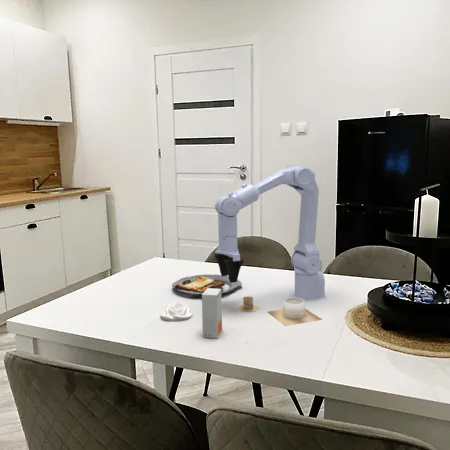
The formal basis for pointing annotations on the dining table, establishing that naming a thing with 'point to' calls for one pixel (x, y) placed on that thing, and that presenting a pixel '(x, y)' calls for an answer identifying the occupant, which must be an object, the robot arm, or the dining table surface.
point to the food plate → (204, 284)
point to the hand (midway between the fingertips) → (228, 278)
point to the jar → (294, 308)
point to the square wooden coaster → (279, 316)
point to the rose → (176, 312)
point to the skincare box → (212, 312)
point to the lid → (248, 305)
